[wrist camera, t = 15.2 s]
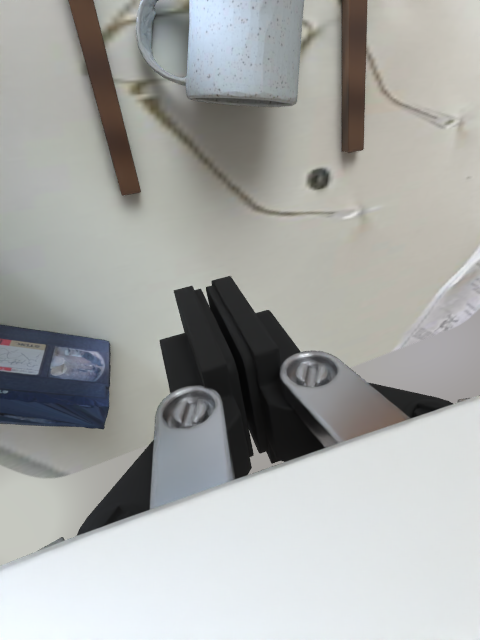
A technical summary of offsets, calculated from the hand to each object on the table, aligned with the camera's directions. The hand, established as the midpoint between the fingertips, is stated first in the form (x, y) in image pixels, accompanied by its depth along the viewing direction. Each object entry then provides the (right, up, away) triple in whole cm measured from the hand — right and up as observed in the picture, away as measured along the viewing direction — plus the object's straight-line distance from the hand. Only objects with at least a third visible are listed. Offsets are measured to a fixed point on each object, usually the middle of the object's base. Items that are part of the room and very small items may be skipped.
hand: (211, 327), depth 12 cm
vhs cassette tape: (-20, -1, +24) cm, 31 cm away
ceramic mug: (-1, +20, +18) cm, 27 cm away
